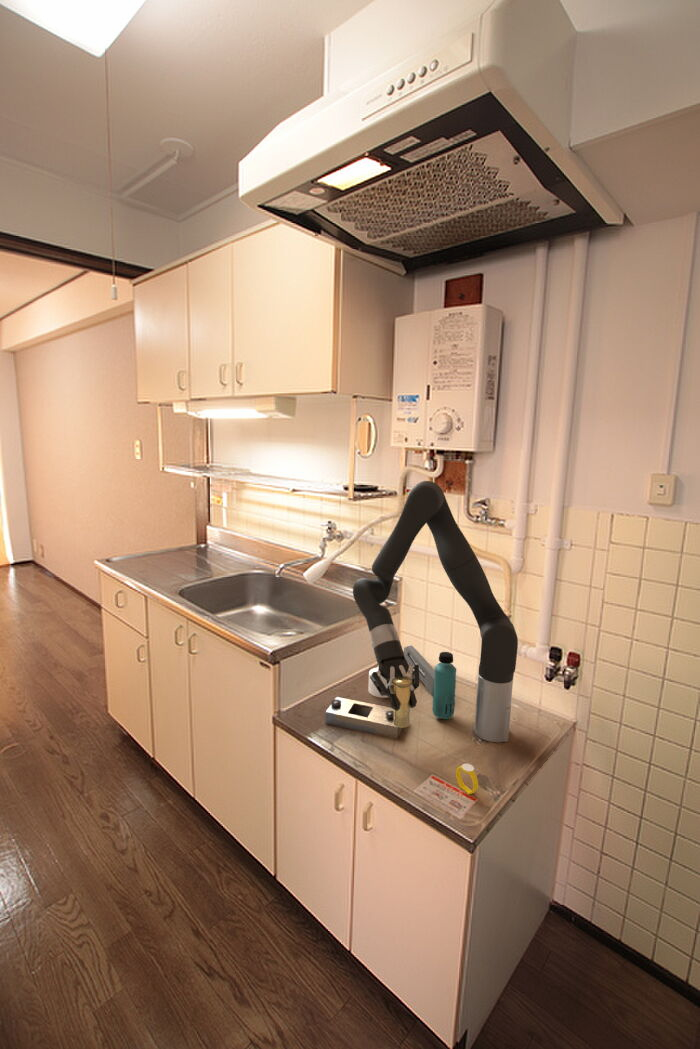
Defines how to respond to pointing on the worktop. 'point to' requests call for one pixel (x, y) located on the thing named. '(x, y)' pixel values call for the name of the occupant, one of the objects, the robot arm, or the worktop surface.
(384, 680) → the cylinder with rectangular tab
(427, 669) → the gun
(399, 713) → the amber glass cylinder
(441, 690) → the beverage bottle
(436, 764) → the worktop surface
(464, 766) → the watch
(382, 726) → the metal socket block
